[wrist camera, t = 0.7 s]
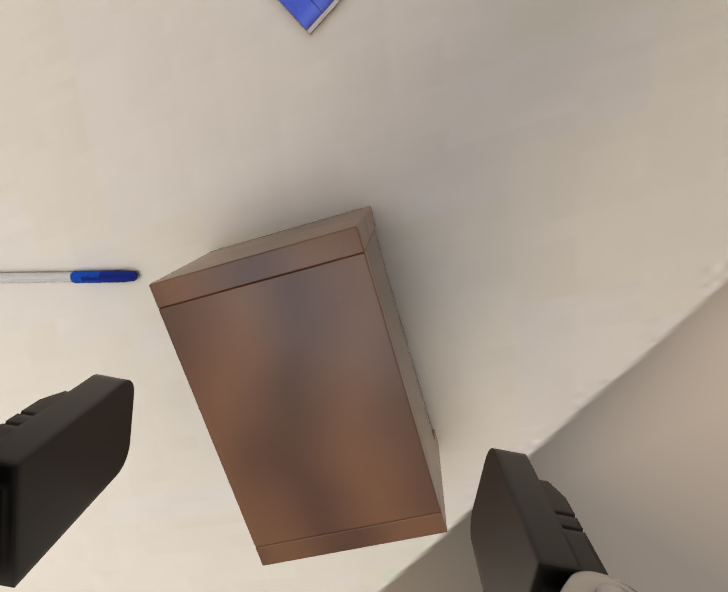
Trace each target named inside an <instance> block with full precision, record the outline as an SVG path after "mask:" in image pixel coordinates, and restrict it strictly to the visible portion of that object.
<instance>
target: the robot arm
mask: <svg viewBox="0 0 728 592" xmlns="http://www.w3.org/2000/svg"><path fill="white" fill-rule="evenodd" d="M133 398H134V386H133V383H132V382H131V381H130V380H125V379H120V378H114V377H109V376H104V375H98V374H96V375H93V376H91V377H90V378H89V379H87V380H86V381H84V382H83V383H81V384H80V385H78V386H77V387H75V388H74V389H72V390H71V391H69V392H67V391H64V392H61V393H58V394H55V395H52V396H49V397H46V398H43V399H40V400H38V401H37V402H35V403H33V404H32V405H30V406H29V407H27V408H26V409H24V410H22V411H21V414H16V415H15V416H13V417H12V418H10V419H8V420H7V421H6V423H5V424H1V425H0V585H2V586H7V587H13V588H15V587H16V585H17V584H18V583H19V582H20V581H21V580H22V579H23V578H24V577H25V576H26V574H27V573H28V572H29V571H30V570H31V569H32V568H33V567H34V566H35V565H36V563H37V562H38V561H39V560H40V559H41V558H42V557H43V556H44V555H45V554H46V552H47V551H48V550H49V549H50V548H51V547H52V546H53V545H54V544H55V543H56V541H57V540H58V539H59V538H60V537H61V536H62V535H63V534H64V533H65V532H66V530H67V529H68V528H69V527H70V526H71V525H72V524H73V523H74V522H75V521H76V519H77V518H78V517H79V516H80V515H81V514H82V513H83V512H84V511H85V510H86V508H87V507H88V506H89V505H90V504H91V503H92V502H93V501H94V500H95V499H96V497H97V496H98V495H99V494H100V493H101V492H102V491H103V490H104V489H105V488H106V486H107V485H108V484H109V483H110V482H111V481H112V480H113V479H114V478H115V477H116V475H117V474H118V473H119V472H120V470H121V469H122V467H123V465H124V463H125V460H126V458H127V455H128V451H129V446H130V435H131V423H132V410H133ZM471 540H472V545H473V549H474V554H475V558H476V562H477V566H478V571H479V575H480V580H481V584H482V588H483V592H637V591H635V590H634V589H633V588H631V587H630V586H628V585H627V584H625V583H623V582H621V581H619V580H617V579H615V578H613V577H611V576H609V575H608V574H607V572H606V570H605V568H604V566H603V565H602V563H601V561H600V559H599V557H598V555H597V554H596V552H595V550H594V548H593V546H592V545H591V543H590V541H589V539H588V537H587V536H586V534H585V533H583V528H582V527H581V525H580V523H579V521H578V519H577V518H575V514H574V512H573V510H572V509H571V507H570V505H569V503H568V501H567V499H566V498H565V497H564V496H563V495H562V494H561V493H560V492H559V491H558V490H557V489H556V488H555V487H553V486H552V485H551V484H550V483H549V482H548V481H542V480H539V479H538V477H537V475H536V473H535V471H534V469H533V467H532V465H531V463H530V461H529V459H528V457H527V456H526V455H525V454H521V453H516V452H510V451H505V450H500V449H494V448H491V449H490V450H489V452H488V454H487V456H486V460H485V464H484V467H483V471H482V475H481V479H480V483H479V487H478V491H477V495H476V499H475V502H474V506H473V511H472V516H471Z"/></svg>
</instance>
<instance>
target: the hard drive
mask: <svg viewBox="0 0 728 592" xmlns="http://www.w3.org/2000/svg"><path fill="white" fill-rule="evenodd" d="M279 1H280V3H281V4H282V5H283V6H284V7H285V8H286V9H287V10H288V11H289V12H290V13H291V15H292V16H293V17H294V18H295V19H296V20H297V21H298V22H299V23H300V24H301V25H302V27H303V28H304V29H305V30H306V31H307V32H308V33H309V34H310V33H311V32H312V31H313V30H314V29H315V28H316V27H317V25H318V24H319V23H320V22H321V21H322V20H323V19H324V18H325V16H326V15H327V14H328V13H329V12H330V11H331V10H332V9H333V8H334V6H335V5H336V4H337V3H338V2H339V1H340V0H279Z"/></svg>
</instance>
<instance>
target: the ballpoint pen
mask: <svg viewBox="0 0 728 592" xmlns="http://www.w3.org/2000/svg"><path fill="white" fill-rule="evenodd" d="M136 279H137V273H136V272H133V271H122V270H113V271H73V272H31V273H0V283H45V282H74V283H102V282H129V281H135V280H136Z"/></svg>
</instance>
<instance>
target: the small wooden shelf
mask: <svg viewBox="0 0 728 592" xmlns="http://www.w3.org/2000/svg"><path fill="white" fill-rule="evenodd" d="M374 228H375V221H374V218H373V214H372V211H371V207H370V206H368V207H365V208H361V209H358V210H354V211H351V212H347V213H344V214H340V215H337V216H333V217H330V218H326V219H323V220H319V221H316V222H312V223H309V224H305V225H302V226H298V227H295V228H291V229H288V230H284V231H281V232H278V233H274V234H271V235H267V236H264V237H260V238H257V239H253V240H250V241H246V242H243V243H239V244H236V245H232V246H229V247H225V248H222V249H218V250H215V251H212V252H210V253H208V254H206V255H204V256H202V257H200V258H199V259H197V260H195V261H193V262H191V263H189V264H187V265H185V266H183V267H182V268H180V269H178V270H176V271H174V272H172V273H170V274H168V275H166V276H165V277H163V278H161V279H159V280H157V281H155V282H153V283H151V284H150V285H149V286H150V289H151V291H152V293H153V296H154V298H155V301H156V303H157V306H158V308H160V309H159V311H160V313H161V316H162V318H163V321H164V323H165V326H166V328H167V330H168V333H169V335H170V338H171V340H172V343H173V345H174V348H175V350H176V353H177V355H178V358H179V360H180V362H181V365H182V367H183V370H184V372H185V375H186V377H187V380H188V382H189V385H190V387H191V389H192V392H193V394H194V397H195V399H196V402H197V404H198V407H199V409H200V412H201V414H202V416H203V419H204V421H205V424H206V426H207V429H208V431H209V434H210V436H211V439H212V441H213V444H214V446H215V448H216V451H217V453H218V456H219V458H220V461H221V463H222V466H223V468H224V471H225V473H226V475H227V478H228V480H229V483H230V485H231V488H232V490H233V493H234V495H235V498H236V500H237V503H238V505H239V507H240V510H241V512H242V515H243V517H244V520H245V522H246V525H247V527H248V530H249V532H250V534H251V537H252V539H253V542H254V544H255V546H256V550H257V552H258V554H259V557H260V559H261V562H262V564H263V565H269V564H274V563H280V562H285V561H291V560H296V559H302V558H307V557H313V556H318V555H324V554H329V553H335V552H340V551H345V550H351V549H356V548H362V547H367V546H373V545H378V544H384V543H389V542H395V541H400V540H406V539H411V538H417V537H422V536H427V535H433V534H438V533H444V532H447V525H446V516H445V506H444V496H443V486H442V476H441V466H440V456H439V446H438V442H437V438H436V435H435V431H434V430H432V429H431V426H430V422H429V419H428V416H427V412H426V409H425V405H424V402H423V398H422V395H421V391H420V388H419V384H418V381H417V377H416V374H415V370H414V367H413V363H412V360H411V356H410V353H409V349H408V346H407V342H406V339H405V335H404V332H403V328H402V325H401V321H400V318H399V315H398V311H397V308H396V304H395V301H394V297H393V294H392V290H391V287H390V283H389V280H388V276H387V273H386V269H385V266H384V262H383V259H382V255H381V252H380V248H379V245H378V241H377V238H376V234H375V231H374Z"/></svg>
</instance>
